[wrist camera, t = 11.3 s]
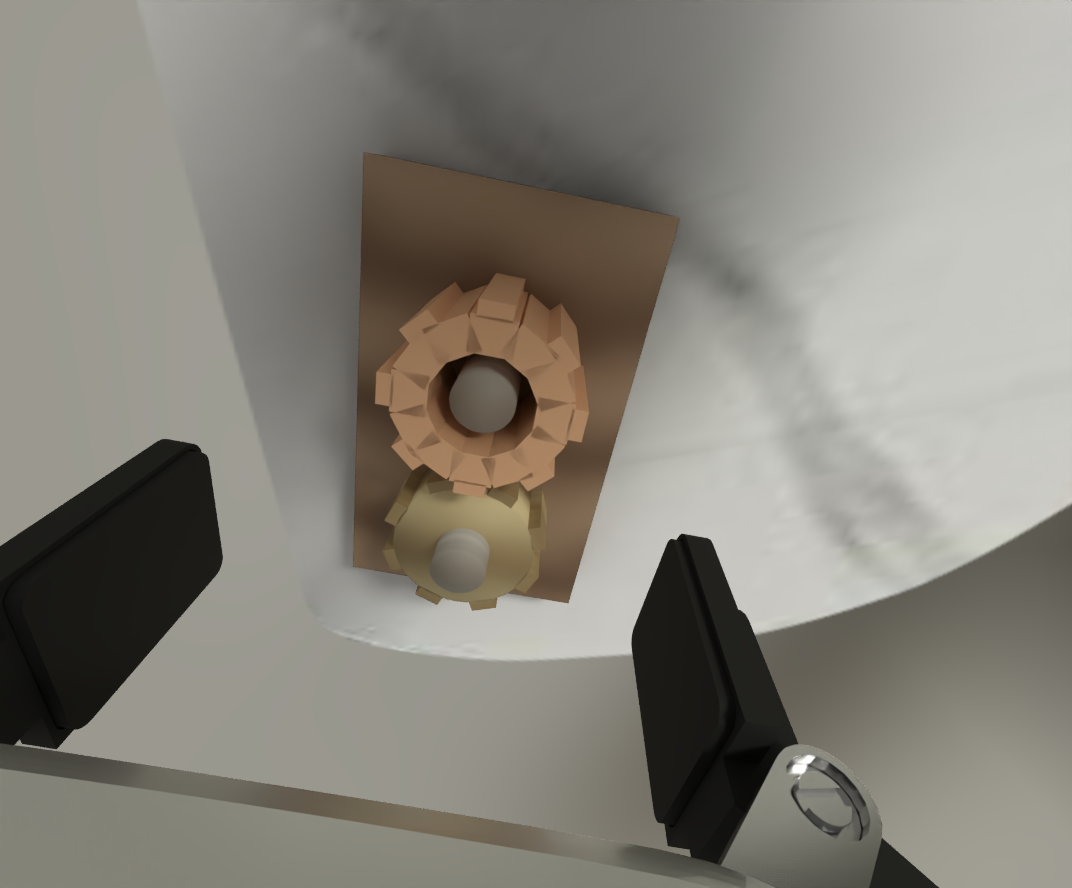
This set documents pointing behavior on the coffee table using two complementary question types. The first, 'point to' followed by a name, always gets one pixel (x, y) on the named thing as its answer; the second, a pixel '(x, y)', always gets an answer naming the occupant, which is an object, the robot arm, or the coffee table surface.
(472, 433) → the loose gear
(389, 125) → the coffee table surface
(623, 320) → the gear board
